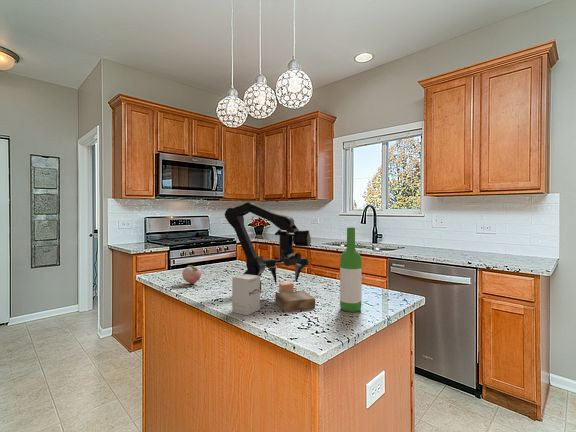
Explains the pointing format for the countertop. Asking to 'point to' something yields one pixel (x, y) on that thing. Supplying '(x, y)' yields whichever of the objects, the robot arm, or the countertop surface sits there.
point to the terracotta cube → (286, 287)
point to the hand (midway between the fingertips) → (285, 282)
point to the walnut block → (295, 300)
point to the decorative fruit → (191, 274)
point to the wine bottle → (350, 276)
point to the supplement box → (245, 294)
